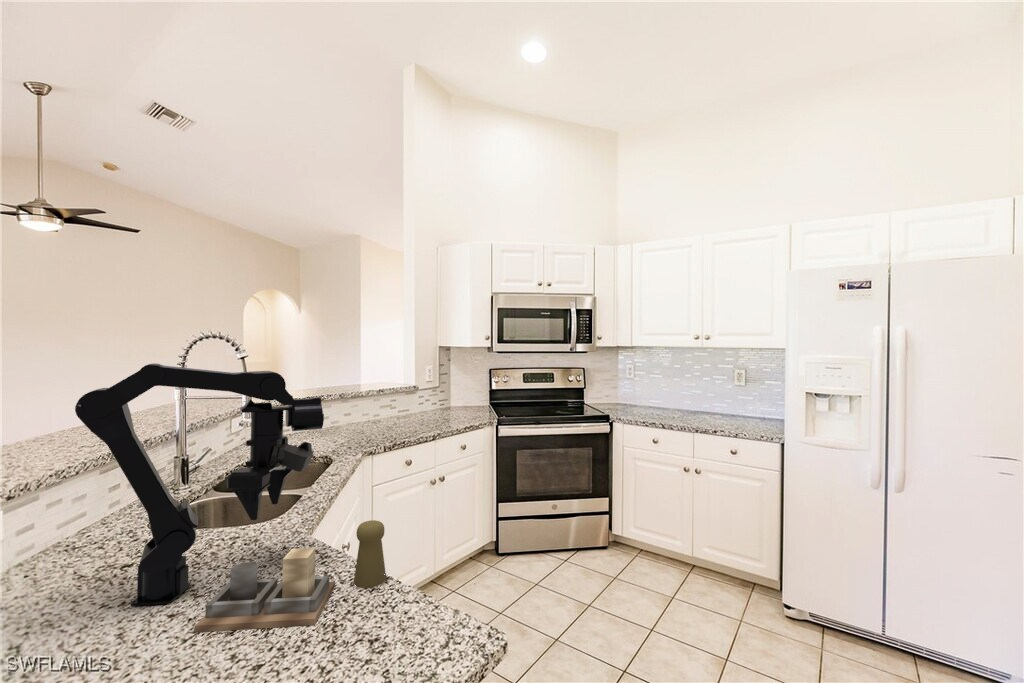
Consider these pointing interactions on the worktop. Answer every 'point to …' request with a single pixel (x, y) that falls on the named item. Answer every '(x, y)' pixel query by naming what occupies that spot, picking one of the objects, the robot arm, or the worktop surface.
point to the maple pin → (299, 573)
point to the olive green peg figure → (370, 555)
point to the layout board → (261, 603)
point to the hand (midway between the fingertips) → (265, 511)
